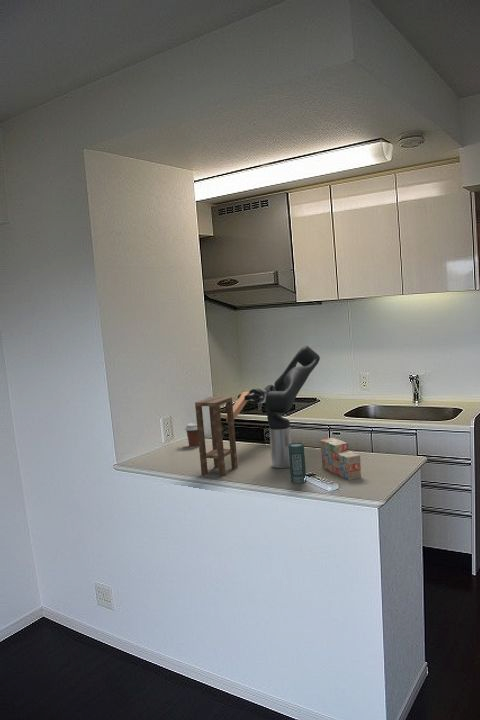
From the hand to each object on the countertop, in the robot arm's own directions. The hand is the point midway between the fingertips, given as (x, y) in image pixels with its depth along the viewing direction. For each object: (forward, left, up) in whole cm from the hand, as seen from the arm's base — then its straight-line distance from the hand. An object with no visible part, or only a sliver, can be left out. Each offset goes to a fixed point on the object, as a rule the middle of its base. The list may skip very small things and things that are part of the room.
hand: (241, 397), depth 270 cm
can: (-39, +30, -28) cm, 57 cm away
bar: (0, +4, -5) cm, 6 cm away
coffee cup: (+35, -9, -28) cm, 45 cm away
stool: (0, +26, -28) cm, 38 cm away
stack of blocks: (-52, +15, -28) cm, 61 cm away
